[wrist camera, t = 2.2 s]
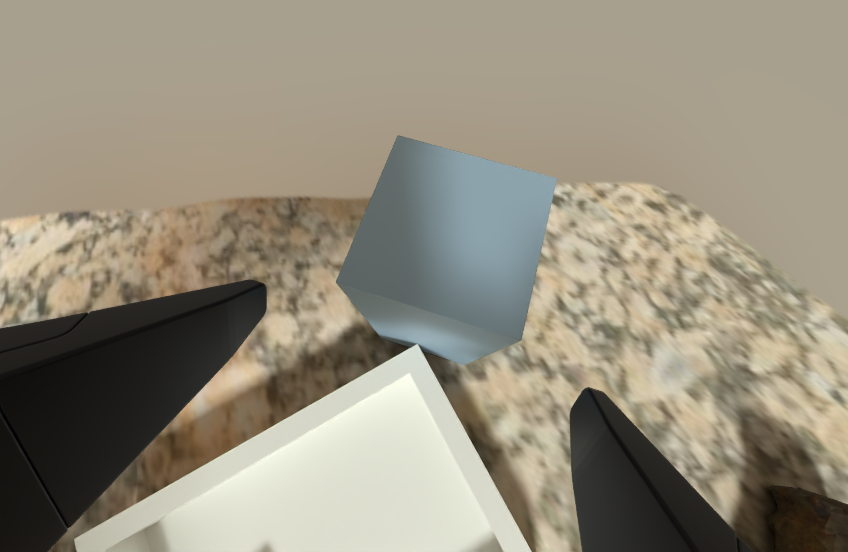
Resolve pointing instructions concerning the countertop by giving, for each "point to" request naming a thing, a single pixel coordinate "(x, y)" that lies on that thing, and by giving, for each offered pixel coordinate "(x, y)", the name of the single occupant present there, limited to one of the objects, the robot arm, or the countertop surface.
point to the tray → (334, 482)
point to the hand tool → (808, 521)
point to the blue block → (448, 251)
